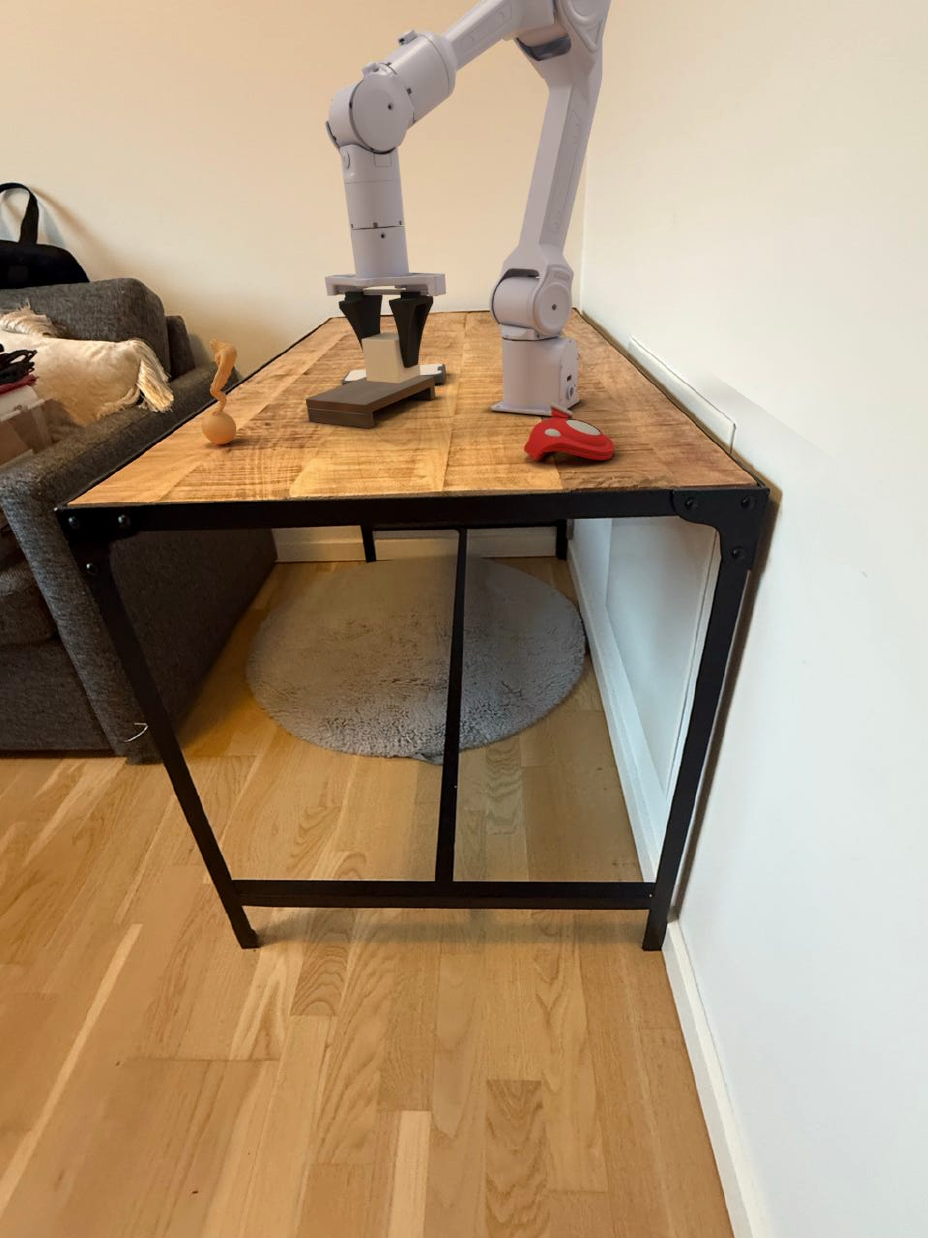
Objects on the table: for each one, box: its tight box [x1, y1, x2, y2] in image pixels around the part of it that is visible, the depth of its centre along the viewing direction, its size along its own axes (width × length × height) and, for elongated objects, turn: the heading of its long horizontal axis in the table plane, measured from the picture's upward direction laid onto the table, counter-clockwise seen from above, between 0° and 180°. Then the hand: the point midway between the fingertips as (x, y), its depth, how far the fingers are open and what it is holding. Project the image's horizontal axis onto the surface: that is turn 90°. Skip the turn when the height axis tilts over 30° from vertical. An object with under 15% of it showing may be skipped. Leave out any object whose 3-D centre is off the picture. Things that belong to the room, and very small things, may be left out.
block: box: [362, 331, 421, 383], centre depth 76 cm, size 4×4×4 cm
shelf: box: [305, 376, 436, 429], centre depth 92 cm, size 10×16×3 cm, turn 150°
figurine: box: [201, 338, 238, 445], centre depth 80 cm, size 8×6×12 cm
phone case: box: [341, 363, 447, 386], centre depth 107 cm, size 9×2×16 cm
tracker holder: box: [523, 402, 616, 462], centre depth 72 cm, size 12×4×10 cm
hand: (392, 364), depth 77 cm, fingers closed on block, 4 cm apart
